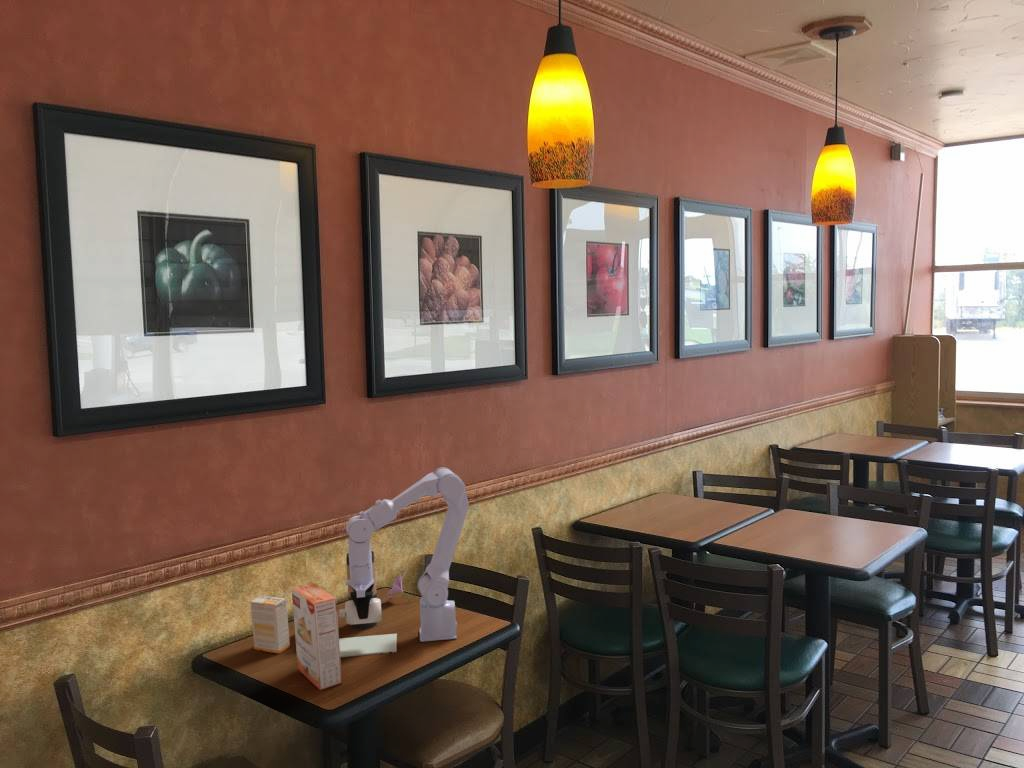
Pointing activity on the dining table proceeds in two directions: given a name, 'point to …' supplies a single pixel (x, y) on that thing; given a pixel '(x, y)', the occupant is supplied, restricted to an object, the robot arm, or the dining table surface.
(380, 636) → the mat
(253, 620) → the supplement box
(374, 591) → the travel mug
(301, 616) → the cracker box
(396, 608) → the dining table surface
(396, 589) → the lily
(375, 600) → the grey rounded piece
